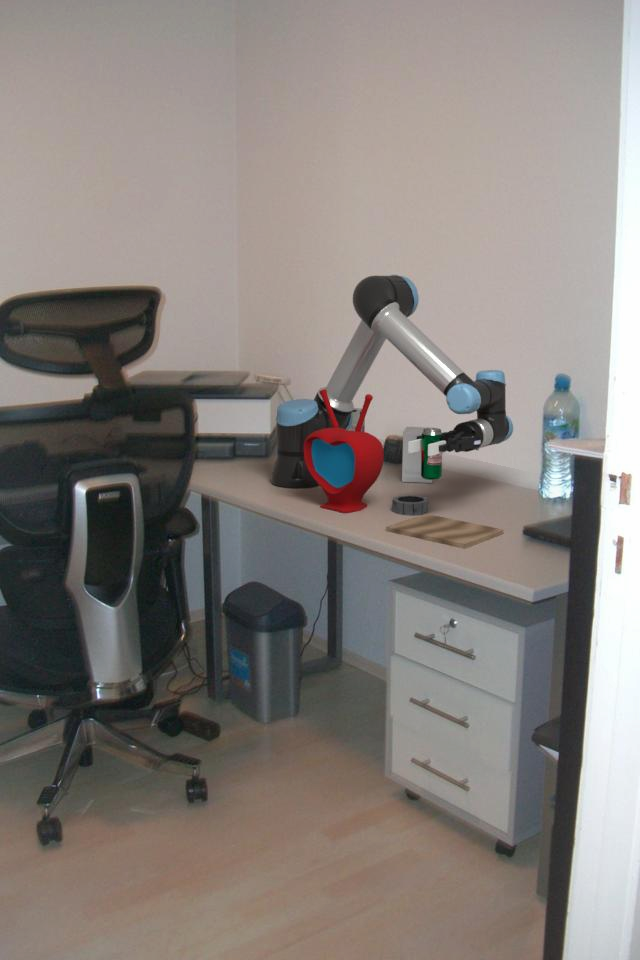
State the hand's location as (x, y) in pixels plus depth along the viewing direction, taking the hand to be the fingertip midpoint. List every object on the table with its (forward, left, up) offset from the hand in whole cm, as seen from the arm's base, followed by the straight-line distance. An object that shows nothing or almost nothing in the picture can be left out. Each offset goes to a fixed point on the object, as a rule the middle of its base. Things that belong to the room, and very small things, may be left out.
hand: (419, 448), depth 226 cm
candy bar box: (-65, +50, -19) cm, 84 cm away
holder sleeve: (-9, +9, -18) cm, 22 cm away
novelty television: (-24, +1, -19) cm, 30 cm away
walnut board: (+9, -2, -18) cm, 21 cm away
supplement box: (-29, +40, -19) cm, 52 cm away
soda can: (0, +5, -8) cm, 10 cm away
